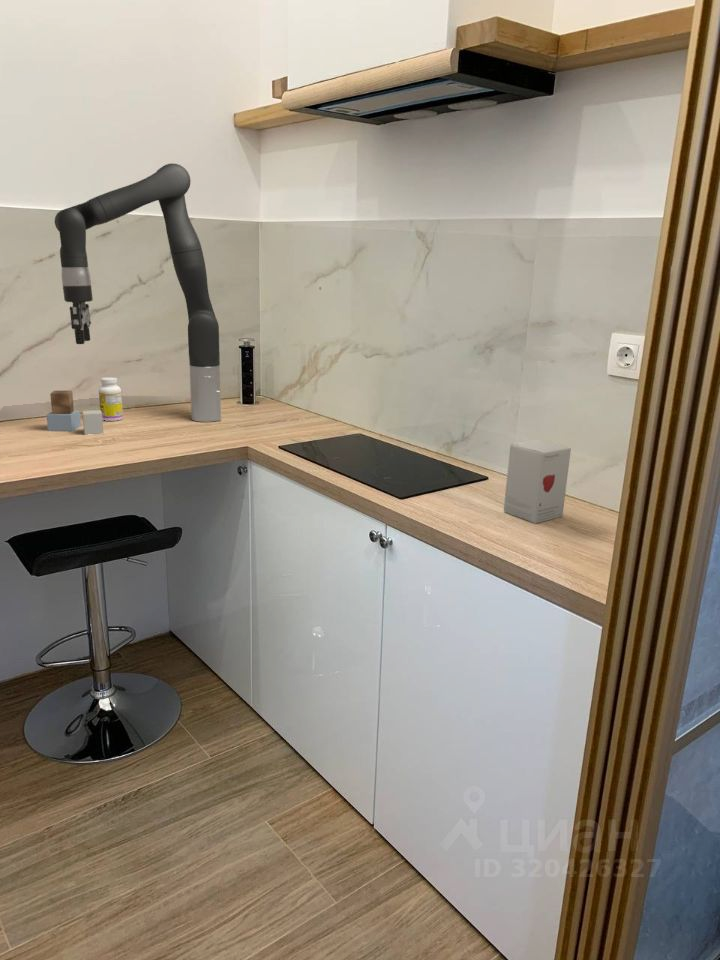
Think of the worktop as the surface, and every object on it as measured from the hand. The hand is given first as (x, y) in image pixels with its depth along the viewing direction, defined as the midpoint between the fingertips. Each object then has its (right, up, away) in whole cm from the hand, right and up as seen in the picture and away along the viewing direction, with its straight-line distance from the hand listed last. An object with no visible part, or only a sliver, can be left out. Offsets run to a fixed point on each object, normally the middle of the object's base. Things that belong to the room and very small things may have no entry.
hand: (83, 342), depth 208 cm
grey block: (+3, -26, +1) cm, 26 cm away
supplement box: (+116, -47, -57) cm, 137 cm away
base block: (-7, -25, +4) cm, 26 cm away
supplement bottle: (+2, -21, +18) cm, 27 cm away
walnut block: (-7, -20, +3) cm, 21 cm away
